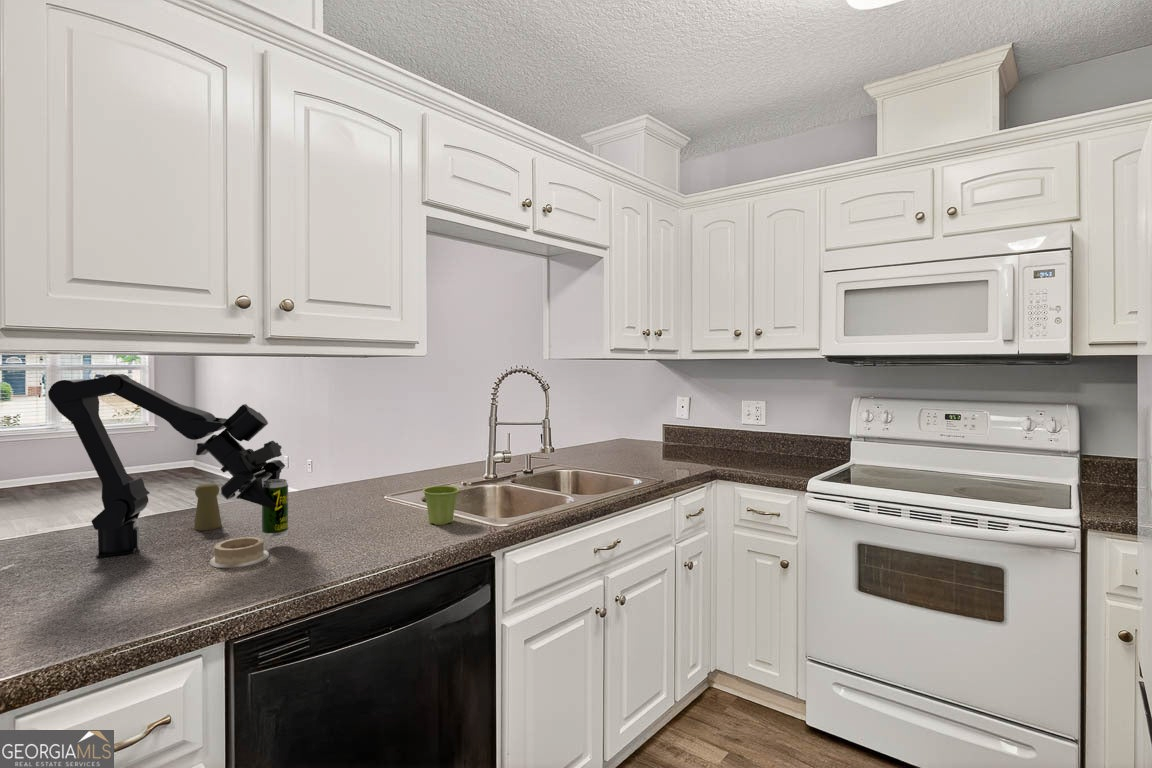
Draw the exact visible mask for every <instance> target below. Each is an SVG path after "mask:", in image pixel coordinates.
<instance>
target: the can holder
mask: <svg viewBox="0 0 1152 768" xmlns="http://www.w3.org/2000/svg"><path fill="white" fill-rule="evenodd" d="M264 548H265V547H264V538H261V537H257V536H243V537H237V538H235V537H234V538H230V539H226V540H223V541H220V542H218V543H216V544H215V545H214V556H213V557H212V558H211V559H210V560H209V565H210V566H211V567H212V568H213V567H214V568H217V569H237V568H241V567H248V566H252V565H255V564H259V563H261V562H263V561H265V560H267V559H269V558H270V557H269V556H270V554H269V553H270V552H269V551H267V550H265V549H264Z"/></svg>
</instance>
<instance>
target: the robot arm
mask: <svg viewBox="0 0 1152 768" xmlns="http://www.w3.org/2000/svg"><path fill="white" fill-rule="evenodd" d="M111 394H115V395H117V396H119V397H120V398H122V399H125V400H126V401H128V402H130V403H132V404H134V405H136V406H138V407H140V408H142V409H143V410H146V411H148V412H150V413H151V414H154V415H156V416H158V417H159V418H161V419H163V420H165V421H167V423H168V424H170V426H171V427H172V428H173V429H174V430H175V431H177V432H178V433H179V434H181V436H183V437H185V438H186V439H188V440H192V441H193V440H194V441H196V440H201V439H204V438H206V437H208V436H210V437H209V438H208V439H207V440H205V442H198V443H196V445H197V446H196V447H197V448H196V452H195V455H196V456H205V455H207V454H210V455H211V456H212V457H213V458H214V459H215V460H216V461H217V462H218V463H219V464H220V465H221V466H222V467H221V468H220V471H221V472H222V473H227V472H228V474H230V475H231V476H232V477H231V478H230V479H229V480H228V481H226V482H225V483H224V484H223V485H222V486H221V487H220V494H221V495H222V496H223V497H224V499H225V500H227V501H229V500H230V499H233V498H234V497H235V498H236V499H237V500H239V499H240V500H243V501H247V502H249V503H253V504H256V505H259V506H261V507H262V506H265V507H268V508H271V509H275V508H276V507H277V505H276V503H275V502H274V500H273V499H272V498H271V497H270V495H269V494H268V493H267V492H266V490H265V489H264V488H263V487H262V485H263V481H266V480H271V479H280V476H281V473H282V470H284V468H285V467H286V465H285V463H284V462H282V460H280V459H279V460H278V459H274V458H279V457H281V456H282V451H281V450H282V448H283V447H282V445H280V444H279V442H275V440H271V441H268V442H265V443H264V444H263V447H260V448H258V449H256V450H254V449H252V448H247V449H245V447H244V446H242V445H241V444H240V442H243V441H246V442H250V441H251V440H252V439H253V438H254V437H255V436H256V435H257V434H259V433H260V432H261V431H262V430H263V429H265V427H266V426H268V425H269V422H268V420H267V418H266V417H265V416H264V415H263V414H262V413H261V412H260V411H259V412H258V411H257V410H256V409H254V408H252V407H250V406H249V405H248V404H247V403H246V404H245V403H244V404H242V405H240V406H239V407H238V408H237V410H236V411H235V412H234V413H232V414H231V416H230V417H229V416H228V418H223V417H216V416H215V415H214V414H212V413H211V412H209V411H206V410H202V409H199V408H197V407H192V406H188V405H184V404H182V403H178V402H177V401H174V400H173V399H171V398H169V397H167V396H165V395H163V394H161V393H159V392H157V391H155V390H153V389H151V388H149V387H147V386H145V385H144V384H141V383H140V382H138V381H136V380H134V379H133V378H131V377H129V375H126V374H124V373H112V374H108V375H106V376H100V377H96V378H90V379H83V378H76V379H75V378H74V379H73V378H72V379H61V380H58V381H56V382H54V383H53V384H52V385H51V387H50V388H49V390H48V392H47V396H48V399H49V401H50V402H51V403H52V405H53V406H54V407H55V409H56V410H57V411H58V413H59V414H61V415H62V416H63V417H65V418H66V419H67V420H68V421H69V422H70V423H71V424H72V425H73V427H74V429H75V432H76V433H77V436H78V437H79V440H80V442H81V444H82V446H83V448H84V449H85V452H86V453H87V456H88V458H89V460H90V462H91V464H92V466H93V467H94V470H95V472H96V474H97V477H99V480H100V483H101V501H102V505H103V510H101V512H100V513H98V514H97V515H96V516H95V517H94V518H92V520H91V524H92V527H93V529H94V530H95V531H97V544H98V545H97V547H98V549H97V550H98V551H97V553H96V554H95V555H96V556H95V557H96V558H102V557H103V558H104V557H111V556H112V557H113V556H121V555H130V554H134V553H135V551H136V549H138V548H139V546H140V527H138V526H137V523H136V522H137V521H136V520H137V519H138V518H139V517H140V514H141V512H142V511H144V510H145V508H146V507H147V505H148V503H149V496H148V495H149V494H150V491H149V490H148V489H147V488H146V487H145V483H144V480H143V478H142V477H139V478H136V479H134V478H133V477H131V476H130V475H129V474H128V473H127V471H126V469H125V467H124V465H123V463H122V460H121V458H120V457H119V455H118V452H117V451H116V449H115V446H114V444H113V442H112V440H111V438H110V435H109V434H108V432H107V429H106V428H105V426H104V423H103V421H102V420H101V416H100V414H99V412H100V399H99V397H103V396H107V395H111ZM218 431H221V432H220V433H218V434H214V433H215V432H218ZM272 459H274V460H272ZM269 460H272V461H269ZM236 492H238V493H239V494H238V495H236ZM288 501H289V498H288Z"/></svg>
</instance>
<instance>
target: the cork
mask: <svg viewBox="0 0 1152 768" xmlns="http://www.w3.org/2000/svg"><path fill="white" fill-rule="evenodd" d="M219 492H220V486H219V485H218V484H217V483H213V482H212V483H211V482H210V483H202V484H199V485H197V486H196V488H195V491H194V494H195V496H196V497H197V502H196V503H197V504H196V510H195V511H196V512H195V519H194V526H193V530H195V531H201V532H202V531H210V530H211V531H212V530H216V529H219V528H222V526H223V524H222V519H221V513H220V507H219V501H218V497H217V496H218V495H219V494H220V493H219Z"/></svg>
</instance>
